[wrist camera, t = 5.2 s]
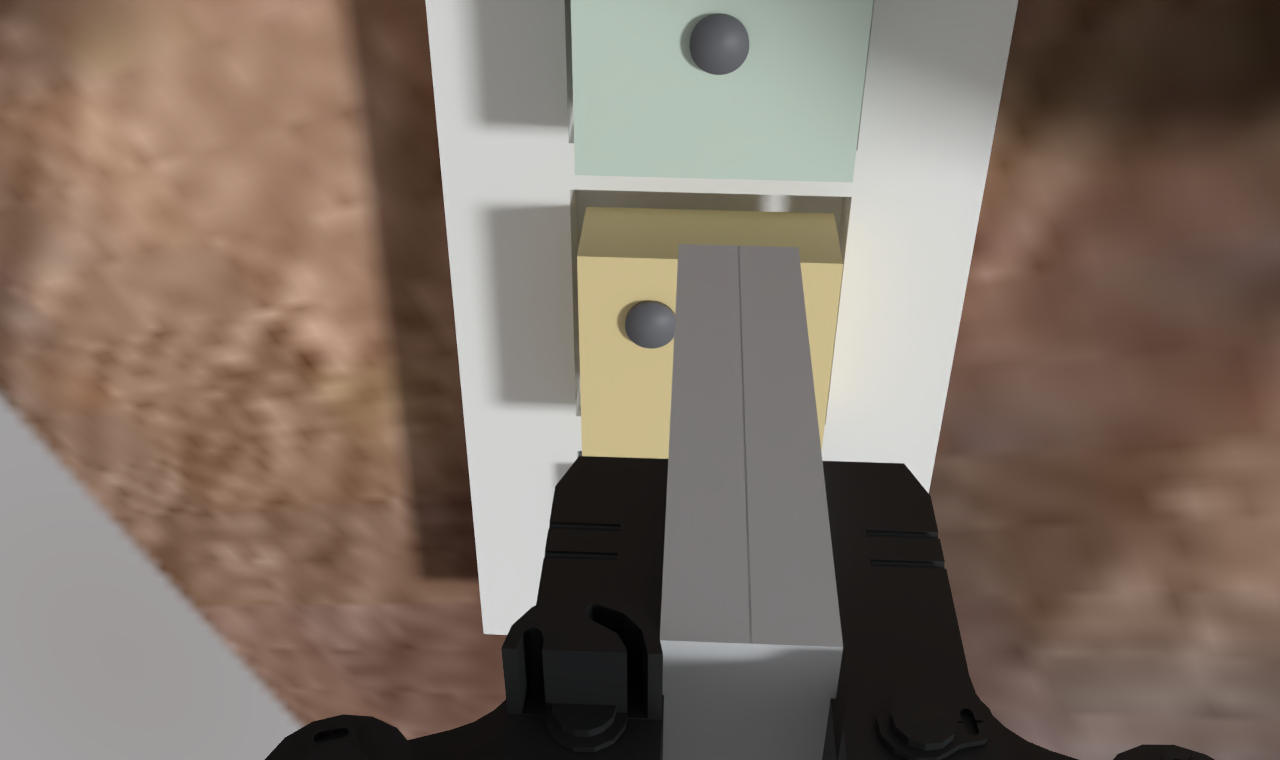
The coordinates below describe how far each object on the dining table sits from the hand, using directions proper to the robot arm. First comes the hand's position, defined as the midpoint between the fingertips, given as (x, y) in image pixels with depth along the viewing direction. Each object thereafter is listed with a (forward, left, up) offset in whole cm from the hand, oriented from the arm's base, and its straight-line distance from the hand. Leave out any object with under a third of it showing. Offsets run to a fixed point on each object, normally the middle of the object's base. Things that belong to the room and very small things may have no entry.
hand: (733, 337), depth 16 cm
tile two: (+8, 0, -13) cm, 15 cm away
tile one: (0, 0, -13) cm, 13 cm away
